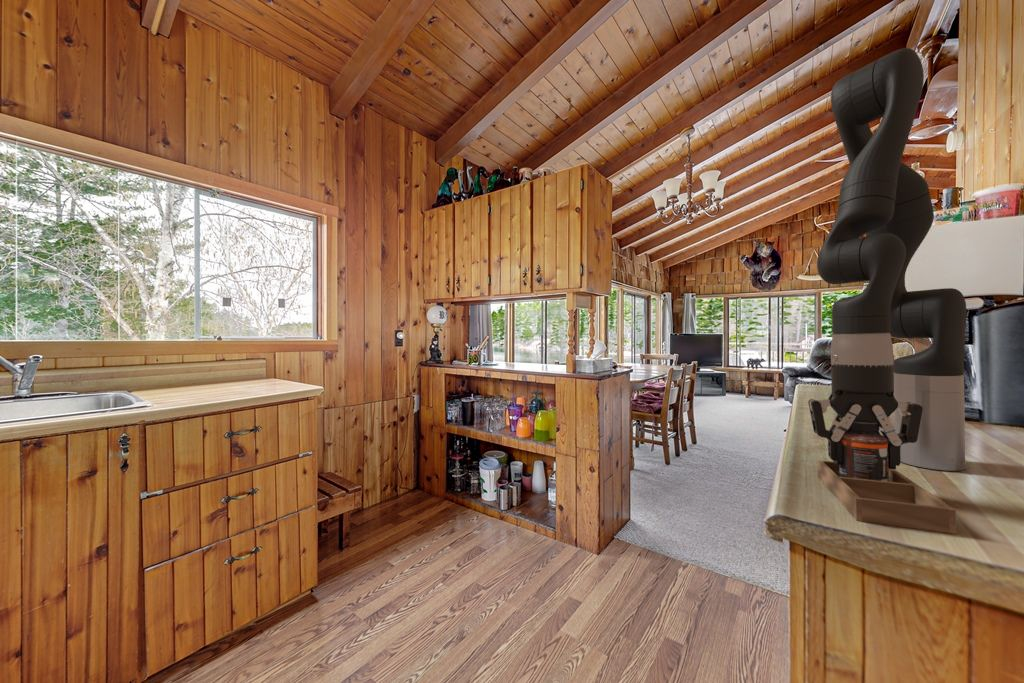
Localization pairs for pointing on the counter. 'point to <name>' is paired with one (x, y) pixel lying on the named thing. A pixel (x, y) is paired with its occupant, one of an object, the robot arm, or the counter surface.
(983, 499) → the counter surface
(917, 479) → the counter surface
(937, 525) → the caddy
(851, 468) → the supplement bottle
